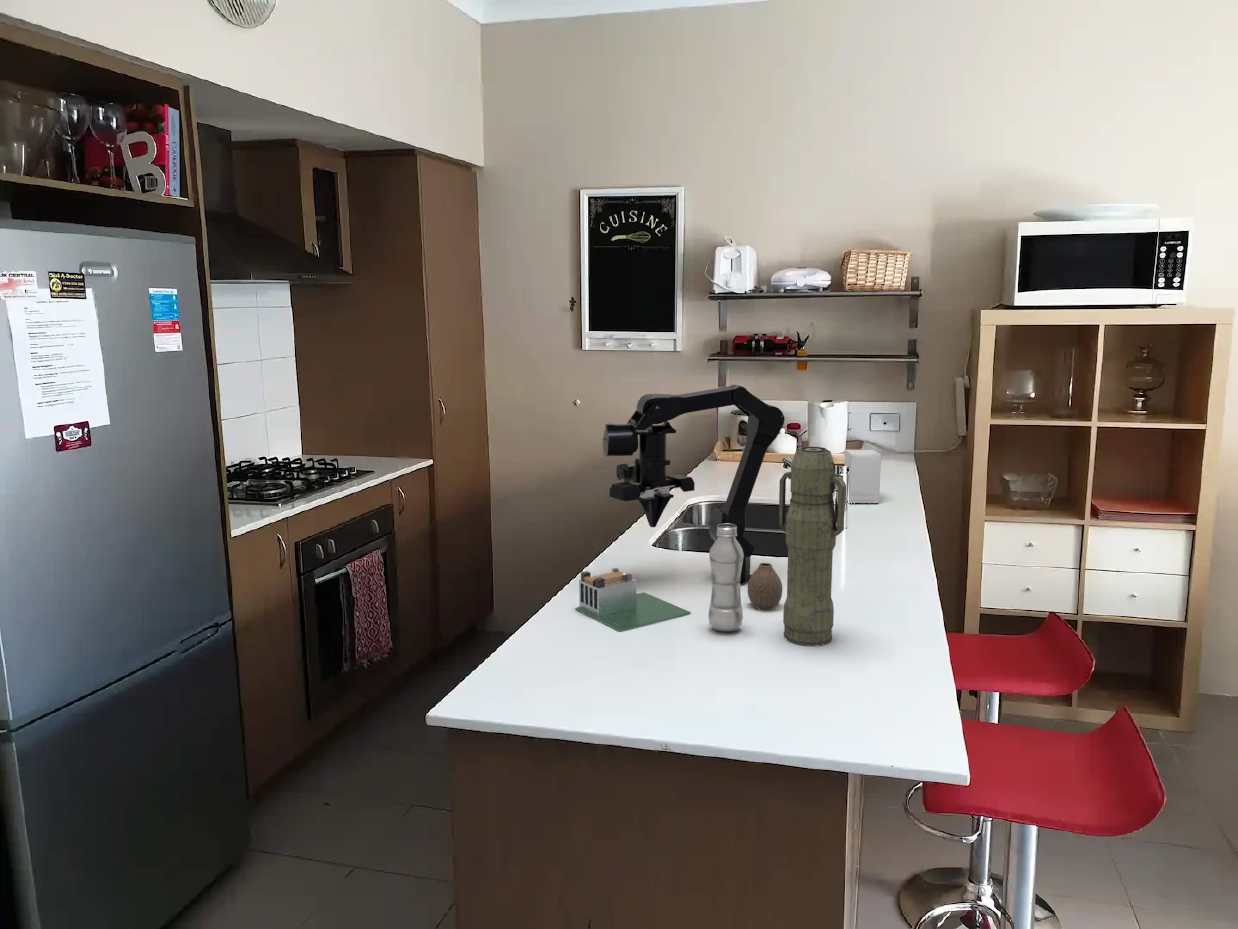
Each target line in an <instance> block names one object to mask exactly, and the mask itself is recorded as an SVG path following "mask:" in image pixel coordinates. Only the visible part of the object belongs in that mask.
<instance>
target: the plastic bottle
mask: <svg viewBox="0 0 1238 929" xmlns="http://www.w3.org/2000/svg"><path fill="white" fill-rule="evenodd" d="M716 535H717V536H718V539H717V540H716V541H714V542H713V544H712V546H711V547H710V548H709V552H708V554H709V563H710V571H711V595H710V597H711V598H710V604H709V609H708V621H709V625H710V626H711V628H712V629H713V630H714V631H719V632H734V631H737V630H739V629H740V627H742V624H743V620H744V613H743V607H742V600H741V596H742V595H741V584H740V581H741V570H742V564H743V556H744V554H743V550H742V548H741V546H740V544H739V543H738V541H737V540H736V538H735V537H736V536H737V527H736V525H734V524H719V525H717V533H716Z"/></svg>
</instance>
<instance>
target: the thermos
mask: <svg viewBox="0 0 1238 929" xmlns="http://www.w3.org/2000/svg"><path fill="white" fill-rule="evenodd" d="M790 464H791V465H790V471H786V472H785V473H783V475H782V476H781V477H780V479H779V487H778V488H779V489H778V490H779V493H778V494H779V495H778V496H779V497H778V524H779V529H782V530H783V532H785V544H786V547H787V548H788V549H787V581H786V582H787V583H786V599H785V601H784V605H783V612H782V613H783V616H782V618H783V619H782V621H783V622H782V623H783V626H784V629H783V630H784V631H783V638H784V639H785V638H786V639H787V640H788V641H787V640H786V639H785V640H786V641H787V642H789V643H791V644H794V645H798V644H802V645H801V646H804V645H813V646H812V647H815V646H814V645H820V646H823V645H822V644H824V645H827V644H829V643H830V641H831V642H832V640H833V633H832V631H833V627H834V615H835V614H834V612H835V611H834V602H833V599H832V583H833V582H832V581H833V555H834V553H833V552H834V549H835V547H836V543H837V542H836V541H837V536H839V535H840V534H841V533H842V532H843V531H845V513H846V512H845V511H846V484H845V482H844V478H842V477H840V476H837V475H836V474H835V470H836V468H835V467H836V466H835V462H834V458H833V455H832V452H831V451H830V450H828V448H826V447H822V446H821V447H820V446H802V447H800V448H799V449H796V450H795V453H794V455H793V458H792V461H791V463H790ZM787 479H788V480H790V493H791V495H790V497H791V498H790V499H789V507H788V508H787V509H788V510H787V512H786V490H787V488H786V486H787ZM835 484H836V486H837V489H838V490H837V510H836V511H837V512H836V511H835V508H834V506H835V505H834V502H835V501H834V498H833V496H834V495H833V494H834V492H835ZM836 513H837V514H836ZM831 639H832V640H831Z"/></svg>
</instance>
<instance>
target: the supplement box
mask: <svg viewBox="0 0 1238 929" xmlns="http://www.w3.org/2000/svg"><path fill="white" fill-rule="evenodd" d="M843 463H844V465H847V466H850V468H849V503H848V504H849V505H856V504H855V503H879V504H880V486H881V468H882V467H881V465H882V454H880V453H879V452H878V451H877V450H875V449H845V450H844V462H843ZM850 503H851V504H850ZM852 503H854V504H852Z"/></svg>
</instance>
